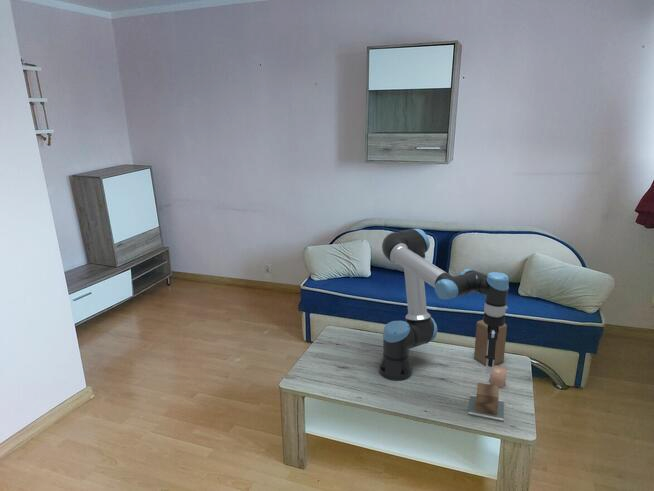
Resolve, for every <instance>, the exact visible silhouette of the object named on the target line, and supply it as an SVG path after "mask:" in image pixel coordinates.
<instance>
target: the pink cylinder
mask: <svg viewBox="0 0 654 491" xmlns="http://www.w3.org/2000/svg"><path fill="white" fill-rule="evenodd" d="M506 380H507V369H506V368H505V367H504V366H501V365H494V370H493V374H490V373H489V385H495V386H499V389H502V388H505V386H506Z"/></svg>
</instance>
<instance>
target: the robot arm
mask: <svg viewBox="0 0 654 491" xmlns="http://www.w3.org/2000/svg"><path fill="white" fill-rule="evenodd" d="M430 244H431V243H430V239H429V237H428V235H427V233H425V231H424V230H422V229H421V228H410V229H405V230H400V231H394V232H390V233H389V234H388V235H386V236H385V237H384V238H383V241H382V243H381V249H382V254H383V255H384V257H385V258H386V260H388V261H390V262H391V263H392V264H395V265H398V264H399V265H400V266H401V267H402V268H403V271H404V283H405V292H406V303H407V304H406V305H407V314H406V315H405V321H404V320H391V321H390V322H388V323H386V324H385V326H384V328H383V333H382V338H383V339H382V340H383V341H382V342H383V348H382V349H383V350H382V351H383V352H382V358H381V360H380V362H379V367H378V371H379V374H380V375H381V376H382V377H384V378H385V379H388V380H391V381H404V380H407V379H408V378H410V377H412V374H413V366H412V364H411V360H410V356H409V355H410V349H413V348H416V347H419V346H422V345H426V344H429V343H430V342H432V341H434V340H435V339H436V337H437V334H438V325H437V323H436V322H435V321H436V320H434V319H435V318H433V317H432V315H431V314H430V313H429V312H428V308H427V307H428V306H427V298H426V297H427V296H426V289H425V288H426V287H425V286H426V285H425V283H426V284H428V285H430V286H431V287H433V288H434V292H435V295H437V297H438V298H439V299H440V300H443V301H444V300H445V301H447V300H451V299H455V298H458V297H461V296H465V295H469V294H472V293H477V294H480V295H483V296H484V297H485V298H484V306H483V311H484V312H483V318H482V320H483V321H484V323H485V324H487V325H488V330H487V333H488V338H487V339H488V344H487V354H486V355H487V356H485V358H487V361H486V365H485V373H486V374H489V375H490V374H493V370H494V366H495V365H494V360H495V347H496V341H497V337H498V333H499V327H500V326H503V325H504V323H505V324H506V322H505V320H506V311H507V310H508V309H509V308H508V307H509V306H507V303H508V302H507V301H508V300H507V299H508V292H509V289H510V288H509V287H510V285H509V280H510V279H509V276H508V275H507V274H506V273H503V272H498V271H491V272H489V273H488V274H485V273H482V272H480V271H478V270H475V269H470V268H465V269H463V271H461V272H460V273H459V274H458V275H456V276H453V275H452V274H450V273H448V272H446V271H445V270H443V269H442V268H439V267H438V266H436V265H435V264H433V263H432V262H431V261H428V260H427V259H426V253H427V252H428V250H429V249H430Z"/></svg>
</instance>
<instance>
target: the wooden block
mask: <svg viewBox="0 0 654 491" xmlns="http://www.w3.org/2000/svg"><path fill="white" fill-rule="evenodd" d="M487 330H488V325H487V324H485V323H484V321H483V319H481V320H478V321H477V322H476V329H475V340H474V341H475V342H474V357H473V359H474V360H476V361H478V362H480V363H481V364H483V365H484V366H486V361H487V358H485V356H487V355H486V354H487V344H488V339H487V338H488V333H487ZM507 330H508V325H507V324H506V322H505V323H504V325H503V326H500V327H499V333H498V337H497V341H496V347H495V360H494V366H498V365H499V364H502V363H504V361H505V353H506V352H505V351H506V350H505V349H506V343H507V342H506V341H507V340H506V338H507Z"/></svg>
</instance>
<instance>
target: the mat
mask: <svg viewBox="0 0 654 491" xmlns="http://www.w3.org/2000/svg"><path fill="white" fill-rule="evenodd" d="M476 395H477V394H470V395H469V402H468V403H469V404H468V413H467V415H468V416H472V417H476V418H482V419H487V420H491V421H495V422H501V423H505V408H504V407H505V404H504V403H505V402H504V400H503V399H498V409H497V415H492V414H487V413H482V412H477V411H475V407H476Z"/></svg>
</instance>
